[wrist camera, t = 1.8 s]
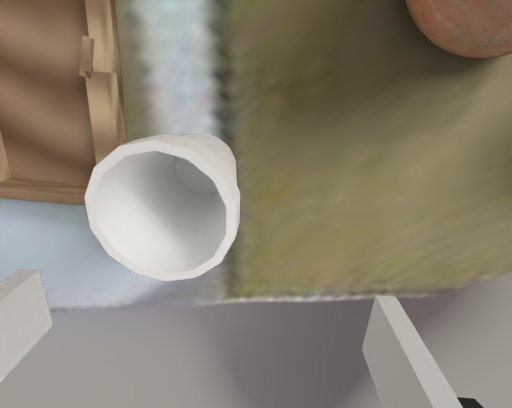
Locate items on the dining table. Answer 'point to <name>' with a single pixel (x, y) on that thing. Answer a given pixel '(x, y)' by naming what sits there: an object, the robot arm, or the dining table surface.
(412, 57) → the dining table surface
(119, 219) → the foam cup
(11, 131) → the track
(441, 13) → the ceramic jug
